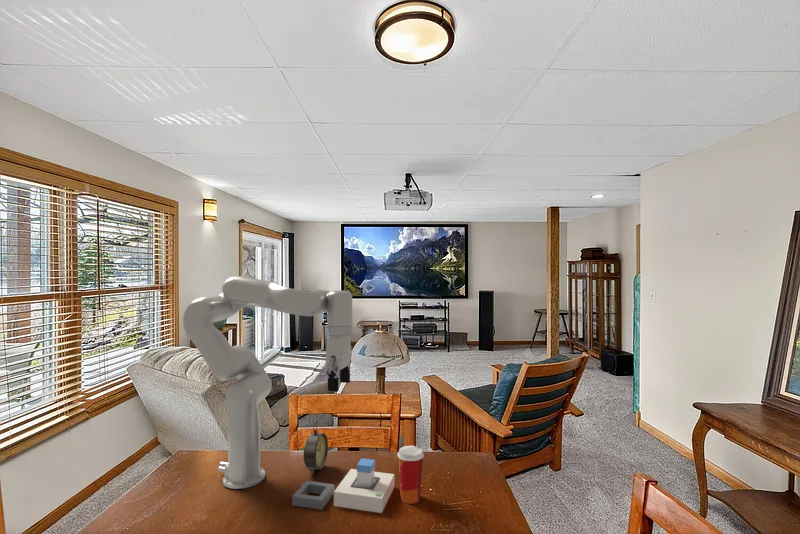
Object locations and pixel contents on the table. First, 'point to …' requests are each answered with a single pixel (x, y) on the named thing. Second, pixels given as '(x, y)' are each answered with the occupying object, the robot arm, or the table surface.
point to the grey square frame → (313, 501)
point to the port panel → (364, 492)
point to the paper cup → (410, 473)
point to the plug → (365, 472)
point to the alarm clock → (315, 450)
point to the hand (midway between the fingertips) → (339, 386)
